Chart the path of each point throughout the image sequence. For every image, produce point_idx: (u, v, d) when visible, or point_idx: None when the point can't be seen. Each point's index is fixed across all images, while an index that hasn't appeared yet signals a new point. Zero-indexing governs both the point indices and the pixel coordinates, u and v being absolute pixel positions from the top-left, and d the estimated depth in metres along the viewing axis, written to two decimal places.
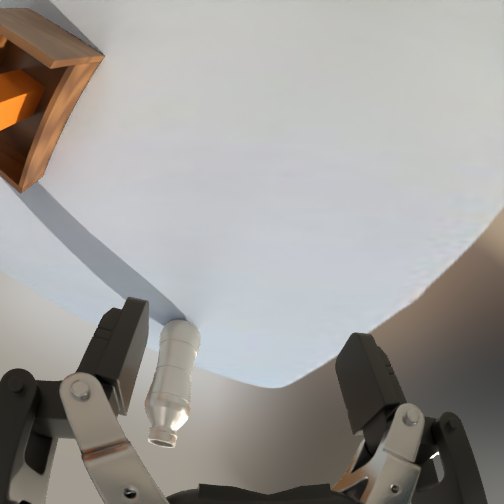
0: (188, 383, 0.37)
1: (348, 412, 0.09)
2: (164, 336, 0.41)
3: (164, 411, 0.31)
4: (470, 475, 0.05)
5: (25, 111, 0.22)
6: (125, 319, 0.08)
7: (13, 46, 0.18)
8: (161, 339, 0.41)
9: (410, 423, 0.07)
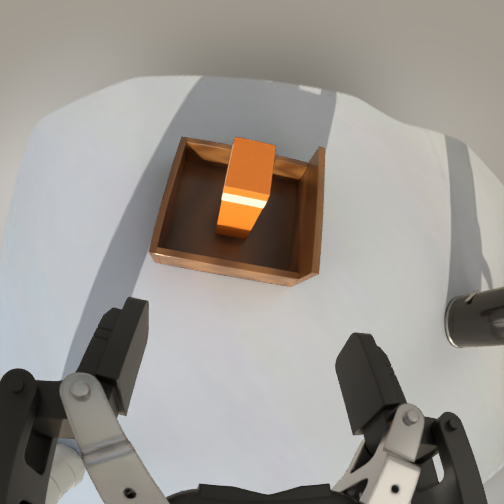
0: None
1: (348, 412, 0.09)
2: (60, 453, 0.23)
3: None
4: (470, 475, 0.05)
5: (226, 229, 0.35)
6: (125, 319, 0.08)
7: None
8: None
9: (410, 423, 0.07)
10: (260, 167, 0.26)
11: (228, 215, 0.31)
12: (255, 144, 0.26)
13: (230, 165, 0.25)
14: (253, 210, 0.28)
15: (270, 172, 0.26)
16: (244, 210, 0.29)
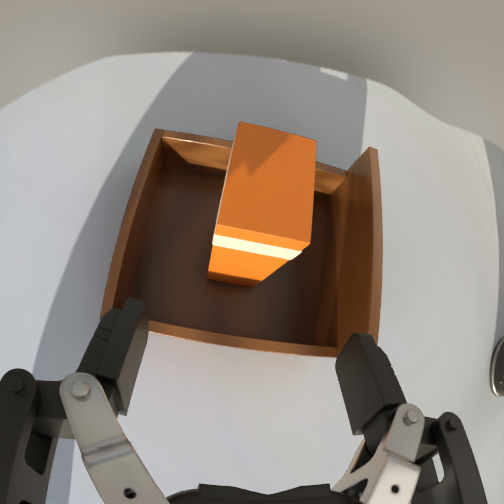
0: None
1: (348, 412, 0.09)
2: None
3: None
4: (470, 475, 0.05)
5: (223, 277, 0.22)
6: (125, 319, 0.08)
7: None
8: None
9: (410, 423, 0.07)
10: (290, 182, 0.13)
11: (226, 264, 0.18)
12: (278, 137, 0.13)
13: (229, 178, 0.12)
14: (272, 260, 0.16)
15: (309, 193, 0.13)
16: (255, 260, 0.16)
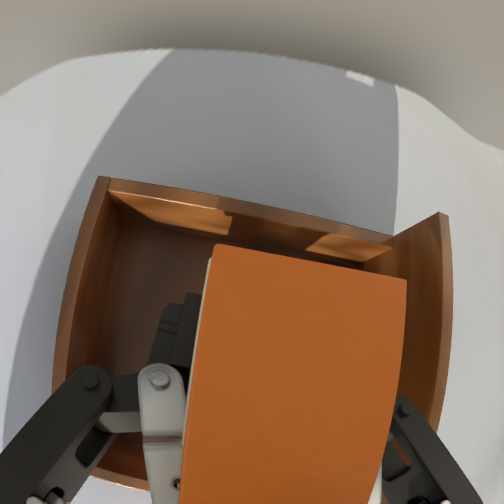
0: None
1: None
2: None
3: None
4: (440, 458, 0.05)
5: None
6: (189, 312, 0.09)
7: None
8: None
9: None
10: (345, 421, 0.04)
11: None
12: (322, 291, 0.05)
13: (193, 437, 0.04)
14: None
15: (381, 431, 0.05)
16: None
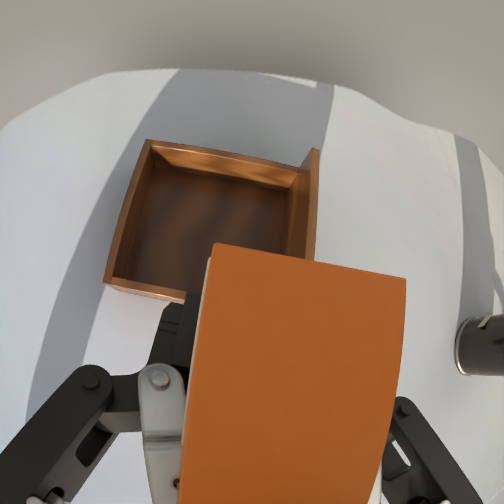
0: None
1: None
2: None
3: None
4: (440, 458, 0.05)
5: None
6: (189, 312, 0.09)
7: (251, 191, 0.34)
8: None
9: None
10: (344, 421, 0.04)
11: None
12: (321, 290, 0.05)
13: (192, 437, 0.04)
14: None
15: (381, 430, 0.05)
16: None
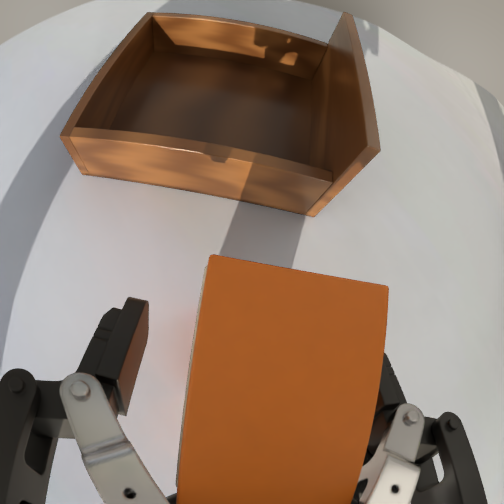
0: None
1: None
2: None
3: None
4: (470, 475, 0.05)
5: None
6: (125, 319, 0.08)
7: (270, 74, 0.24)
8: None
9: (410, 423, 0.07)
10: (329, 416, 0.05)
11: None
12: (307, 297, 0.06)
13: (191, 428, 0.05)
14: None
15: (364, 426, 0.05)
16: None
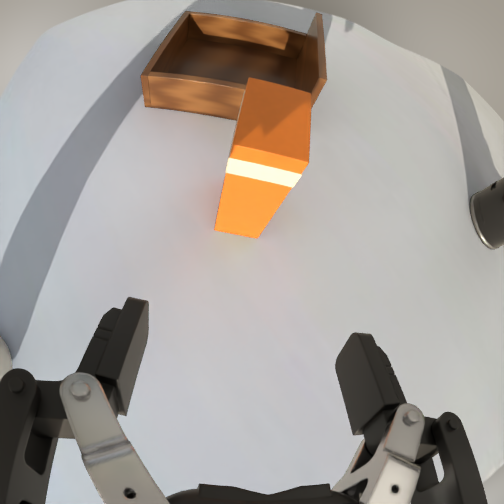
0: None
1: (348, 412, 0.09)
2: None
3: None
4: (470, 475, 0.05)
5: (230, 224, 0.24)
6: (125, 319, 0.08)
7: (268, 55, 0.34)
8: None
9: (410, 423, 0.07)
10: (290, 120, 0.15)
11: (235, 201, 0.20)
12: (280, 89, 0.15)
13: (242, 114, 0.14)
14: (276, 190, 0.18)
15: (306, 128, 0.15)
16: (261, 191, 0.18)
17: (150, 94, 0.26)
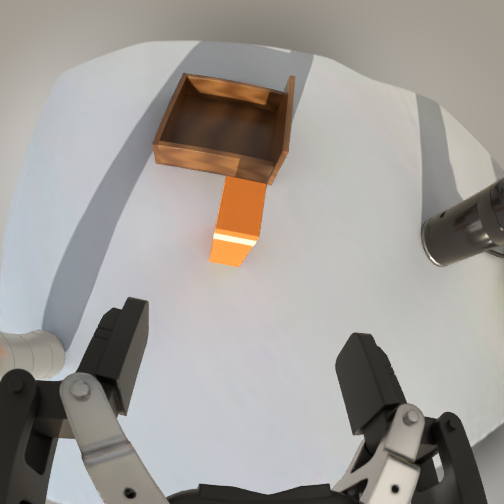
0: None
1: (348, 412, 0.09)
2: (43, 334, 0.28)
3: None
4: (470, 475, 0.05)
5: (219, 259, 0.36)
6: (125, 319, 0.08)
7: (252, 110, 0.46)
8: (38, 331, 0.28)
9: (410, 423, 0.07)
10: (250, 208, 0.27)
11: (221, 249, 0.32)
12: (245, 184, 0.28)
13: (221, 206, 0.27)
14: (244, 246, 0.30)
15: (260, 212, 0.27)
16: (235, 246, 0.30)
17: (160, 156, 0.38)
